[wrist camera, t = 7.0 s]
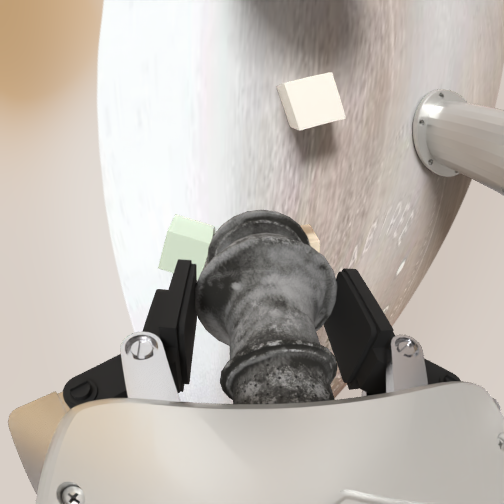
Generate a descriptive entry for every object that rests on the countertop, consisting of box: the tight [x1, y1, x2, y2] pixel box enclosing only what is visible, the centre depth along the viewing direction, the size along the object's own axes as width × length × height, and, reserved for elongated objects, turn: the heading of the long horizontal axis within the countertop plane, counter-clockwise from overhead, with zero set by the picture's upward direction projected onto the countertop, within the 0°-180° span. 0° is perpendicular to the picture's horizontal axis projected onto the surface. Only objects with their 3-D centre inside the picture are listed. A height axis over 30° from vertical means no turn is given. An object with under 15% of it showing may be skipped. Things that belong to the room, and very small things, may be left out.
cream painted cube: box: [276, 72, 346, 130], centre depth 27 cm, size 5×5×5 cm
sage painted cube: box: [158, 214, 214, 280], centre depth 34 cm, size 5×5×5 cm
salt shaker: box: [195, 210, 337, 404], centre depth 9 cm, size 6×6×12 cm
